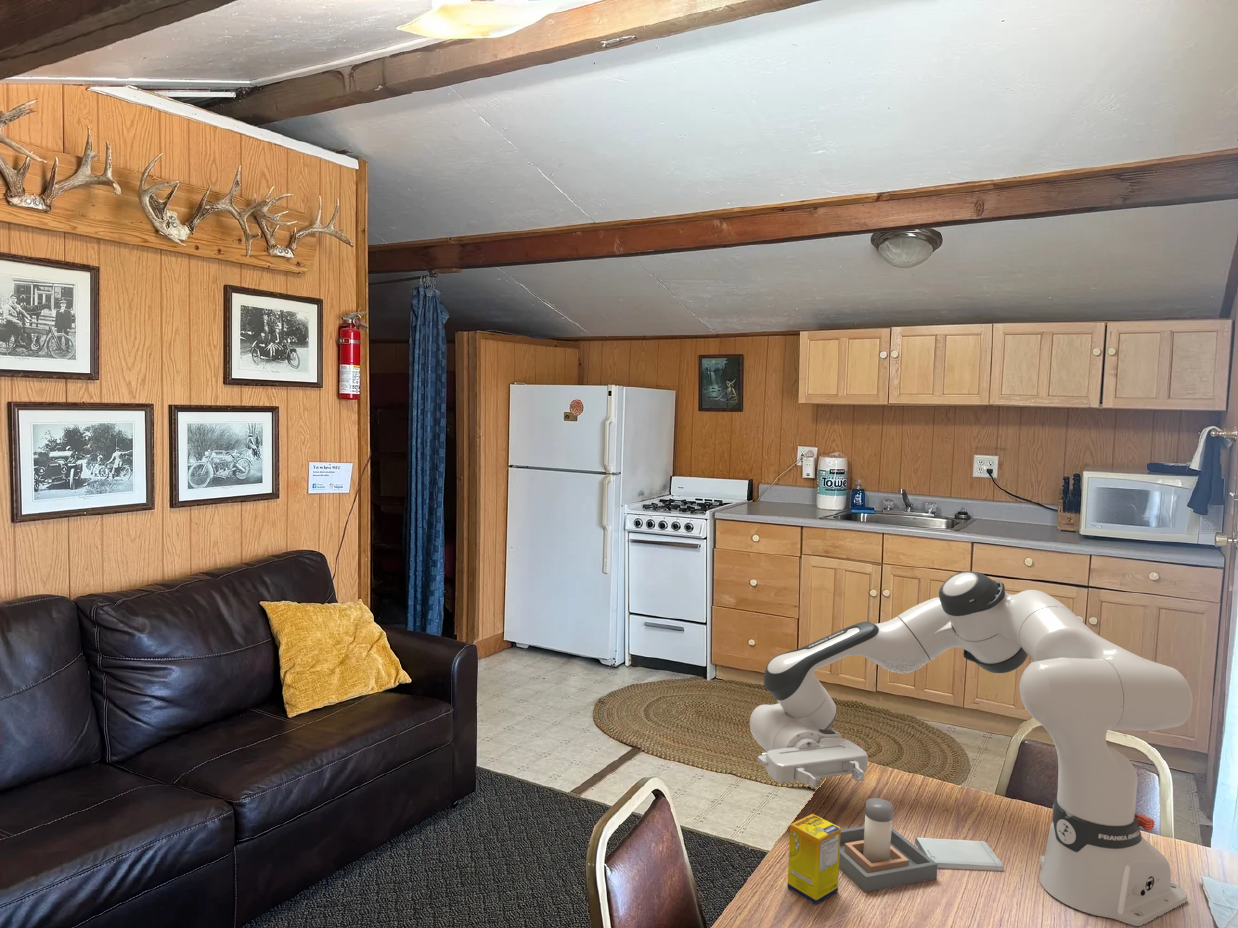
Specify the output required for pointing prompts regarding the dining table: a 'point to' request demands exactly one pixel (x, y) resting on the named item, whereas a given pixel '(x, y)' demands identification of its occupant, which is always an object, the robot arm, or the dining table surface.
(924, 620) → the robot arm
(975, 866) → the hard drive
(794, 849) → the supplement box
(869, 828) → the white bottle
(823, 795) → the dining table surface
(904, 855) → the walled box
